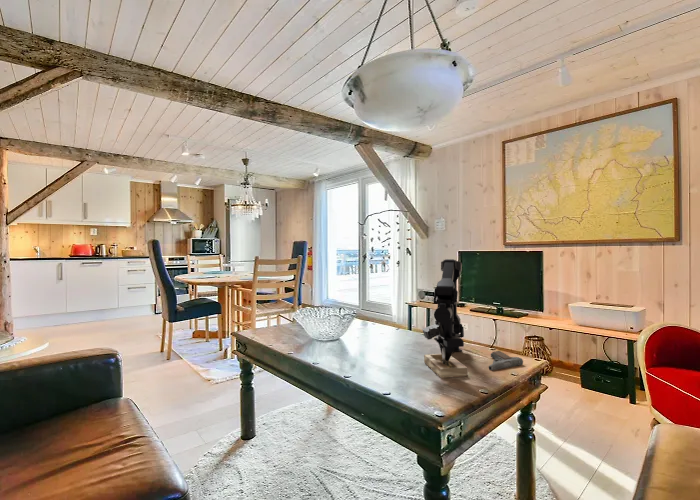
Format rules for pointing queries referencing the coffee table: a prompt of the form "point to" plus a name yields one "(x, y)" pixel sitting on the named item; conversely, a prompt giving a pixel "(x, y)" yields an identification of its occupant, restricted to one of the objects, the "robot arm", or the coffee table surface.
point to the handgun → (504, 361)
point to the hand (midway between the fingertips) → (445, 359)
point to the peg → (445, 360)
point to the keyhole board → (441, 369)
